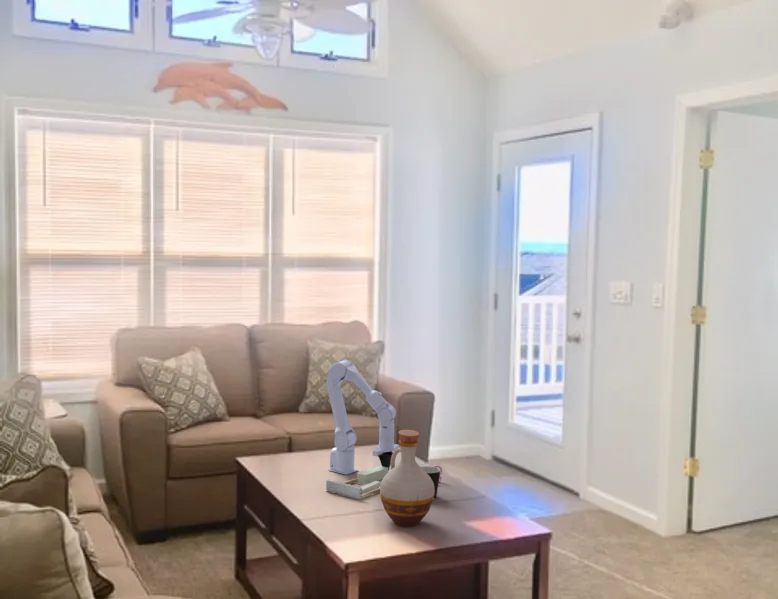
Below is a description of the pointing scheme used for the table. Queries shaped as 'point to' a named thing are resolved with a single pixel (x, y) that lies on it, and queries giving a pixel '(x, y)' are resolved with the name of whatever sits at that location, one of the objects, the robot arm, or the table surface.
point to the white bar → (370, 486)
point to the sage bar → (372, 474)
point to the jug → (407, 485)
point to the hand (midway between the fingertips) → (385, 470)
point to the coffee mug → (433, 476)
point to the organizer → (349, 489)
